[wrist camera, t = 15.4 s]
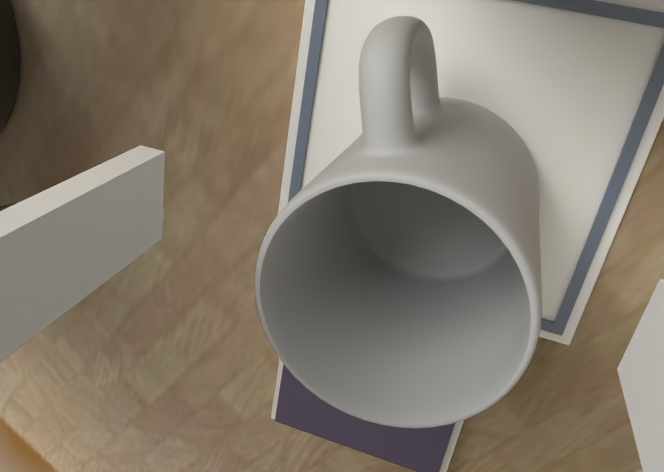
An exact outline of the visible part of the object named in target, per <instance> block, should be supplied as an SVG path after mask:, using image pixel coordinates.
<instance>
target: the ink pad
mask: <svg viewBox="0 0 664 472" xmlns="http://www.w3.org/2000/svg"><path fill="white" fill-rule="evenodd" d="M271 418H272V419H275V421H277V422H279V423H282V424H285V425H288V426H291V427H293V428H296V429H299V430H302V431H305V432H307V433H310V434H313V435H316V436H319V437H321V438H324V439H327V440H330V441H333V442H335V443H338V444H341V445H344V446H347V447H350V448H352V449H355V450H358V451H361V452H364V453H366V454H369V455H372V456H375V457H378V458H380V459H383V460H386V461H389V462H392V463H394V464H397V465H400V466H403V467H406V468H408V469H411V470H414V471H417V472H447V469H448V466H449V463H450V460H451V457H452V454H453V451H454V448H455V445H456V442H457V439H458V436H459V433H460V431H461V428H462V425H463V422H464V420H462V421H459V422H456V423H452V424H449V425H443V426H437V427H429V428H400V427H393V426H386V425H381V424H377V423H373V422H369V421H365V420H363V419H360V418H357V417H355V416H352V415H349V414H347V413H345V412H343V411H341V410H339V409H337V408H335V407H333V406H332V405H330V404H328V403H327V402H325V401H324V400H322V399H320V398H319V397H318V396H316V395H315V394H314V393H312V392H311V391H310V390H308V389H307V388H306V387H305V386H304V385H303V384H302V383H301V382H300V381H299V380H297V379H296V378H295V377H294V376H293V374H292V373H291V372H290V371H289V370H288V369H287V367H286V366H285V365H284V364H283V363H282V361H281V360H280V359H279V366H278V373H277V379H276V386H275V393H274V400H273V406H272V413H271Z"/></svg>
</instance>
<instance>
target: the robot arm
mask: <svg viewBox="0 0 664 472" xmlns="http://www.w3.org/2000/svg"><path fill="white" fill-rule="evenodd" d="M18 78H19V48H18V39H17V33H16V27H15V22H14V17H13V13H12V10H11V6H10V3H9V0H0V131H1V130H2V128H3V127H4V125H5V123H6V121H7V120H8V118H9V115H10V113H11V110H12V107H13V104H14V101H15V97H16V93H17V87H18ZM164 165H165V151H161V150H157V149H153V148H149V147H145V146H141V145H140V146H138V147H136V148H133V149H131V150H129V151H127V152H125V153H123V154H121V155H119V156H116V157H114V158H112V159H110V160H108V161H106V162H104V163H102V164H99V165H97V166H95V167H93V168H91V169H89V170H87V171H85V172H83V173H80V174H78V175H76V176H74V177H72V178H70V179H68V180H66V181H63V182H61V183H59V184H57V185H55V186H53V187H51V188H49V189H46V190H44V191H42V192H40V193H38V194H36V195H34V196H32V197H29V198H27V199H25V200H23V201H21V202H17V203H13V204H9V205H4V206H0V362H2V361H3V360H4V359H6V358H7V357H8V356H10V355H11V354H12V353H14V352H15V351H16V350H17V349H19V348H20V347H21V346H23V345H24V344H25V343H27V342H28V341H29V340H31V339H32V338H33V337H34V336H36V335H37V334H38V333H40V332H41V331H42V330H44V329H45V328H46V327H48V326H49V325H50V324H51V323H53V322H54V321H55V320H57V319H58V318H59V317H61V316H62V315H63V314H65V313H66V312H67V311H68V310H70V309H71V308H72V307H74V306H75V305H76V304H78V303H79V302H80V301H82V300H83V299H84V298H85V297H87V296H88V295H89V294H91V293H92V292H93V291H95V290H96V289H97V288H99V287H100V286H101V285H102V284H104V283H105V282H106V281H108V280H109V279H110V278H112V277H113V276H114V275H116V274H117V273H118V272H119V271H121V270H122V269H123V268H125V267H126V266H127V265H129V264H130V263H131V262H133V261H134V260H135V259H136V258H138V257H139V256H140V255H142V254H143V253H144V252H146V251H147V250H148V249H150V248H151V247H152V246H153V245H155V244H156V243H157V242H159V241H160V240H161V239H162V237H163V201H164ZM617 371H618V375H619V379H620V383H621V387H622V391H623V394H624V398H625V402H626V406H627V410H628V414H629V418H630V422H631V426H632V430H633V434H634V438H635V442H636V446H637V450H638V454H639V458H640V462H641V466H642V470H643V472H664V280H662V279H660V280H659V282H658V284H657V286H656V288H655V290H654V292H653V295H652V297H651V299H650V301H649V303H648V305H647V307H646V309H645V311H644V313H643V316H642V318H641V320H640V322H639V324H638V326H637V328H636V330H635V332H634V335H633V337H632V339H631V341H630V343H629V345H628V347H627V349H626V351H625V353H624V356H623V358H622V360H621V362H620V364H619V366H618V368H617Z"/></svg>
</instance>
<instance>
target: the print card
mask: <svg viewBox="0 0 664 472" xmlns="http://www.w3.org/2000/svg"><path fill="white" fill-rule="evenodd" d="M396 16H412V17H416V18H419V19H420V20H422V21H423V22H424V23H425V24H426V25H427V26H428V28H429V29H430V32H431V34H432V38H433V43H434V49H435V56H436V65H437V77H438V90H439V97H446V98H454V99H461V100H464V101H468V102H472V103H474V104H477V105H479V106H482V107H484V108H486V109H488V110H490V111H491V112H493V113H495V114H497V115H498V116H499V117H501V118H502V119H503V120H504V121H506V122H507V123H508V124H509V125H510V126H511V127H512V128H513V129H514V130H515V131H516V132H517V133H518V135H519V136H520V137H521V139H522V140H523V141H524V143H525V144H526V146H527V148H528V150H529V152H530V153H531V156H532V158H533V161H534V164H535V166H536V170H537V175H538V180H539V190H540V207H539V226H540V254H541V282H542V317H541V329H540V334H539V337H542V338H545V339H549V340H552V341H556V342H559V343H562V344H566V345H570V343H571V340H572V338H573V335H574V333H575V331H576V328H577V326H578V323H579V321H580V318H581V316H582V314H583V311H584V309H585V306H586V304H587V302H588V299H589V297H590V294H591V292H592V290H593V287H594V285H595V282H596V280H597V277H598V275H599V273H600V270H601V268H602V265H603V263H604V261H605V258H606V256H607V253H608V251H609V248H610V246H611V244H612V241H613V239H614V236H615V234H616V232H617V229H618V227H619V224H620V222H621V220H622V217H623V215H624V212H625V210H626V207H627V205H628V203H629V200H630V198H631V195H632V193H633V191H634V188H635V186H636V183H637V181H638V179H639V176H640V174H641V171H642V169H643V166H644V164H645V162H646V159H647V157H648V154H649V152H650V150H651V147H652V145H653V142H654V140H655V138H656V135H657V133H658V130H659V128H660V125H661V123H662V121H663V118H664V0H305V8H304V16H303V24H302V31H301V39H300V47H299V54H298V62H297V70H296V78H295V85H294V93H293V101H292V109H291V116H290V124H289V132H288V139H287V147H286V155H285V163H284V170H283V178H282V186H281V194H280V201H279V209H278V214H279V212H280V211H281V210H282V209H283V208H284V207H285V206H286V205H287V204H288V203H289V201H290V200H291V199H292V198H293V197H294V196H295V195H296V194H297V193H298V192H299V191H301V190H302V189H303V188H304V187H305V186H306V185H307V184H308V183H309V182H310V181H311V180H313V179H314V178H315V177H316V176H317V175H318V174H319V173H320V172H321V171H322V170H324V169H325V168H326V167H327V166H328V165H329V164H330V163H331V162H332V161H333V160H334V159H336V158H337V157H338V156H339V155H340V154H341V153H342V152H343V151H344V150H345V149H346V148H348V147H349V146H350V145H351V144H352V143H353V142H354V141H355V140H356V139H357V138H358V137H359V136H360V135H361V134H362V133H363V131H362V119H361V108H360V95H359V62H360V55H361V50H362V47H363V44H364V42H365V40H366V38H367V36H368V35H369V33H370V31H371V30H372V29H373V28H374V27H375V26H376V25H377V24H379V23H381V22H383V21H384V20H386V19H388V18H392V17H396Z"/></svg>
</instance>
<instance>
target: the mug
mask: <svg viewBox="0 0 664 472" xmlns="http://www.w3.org/2000/svg"><path fill="white" fill-rule="evenodd" d="M359 95H360V108H361V119H362V131H363V133H362V134H361V135H360V136H359V137H358V138H357V139H356V140H355V141H354V142H353V143H352V144H351V145H350V146H349V147H348V148H346V149H345V150H344V151H343V152H342V153H341V154H340V155H339V156H338V157H337V158H336V159H334V160H333V161H332V162H331V163H330V164H329V165H328V166H327V167H326V168H325V169H324V170H322V171H321V172H320V173H319V174H318V175H317V176H316V177H315V178H314V179H313V180H311V181H310V182H309V183H308V184H307V185H306V186H305V187H304V188H303V189H302V190H301V191H299V192H298V193H297V194H296V195H295V196H294V197H293V198H292V199H291V200H290V201H289V203H288V204H287V205H286V206H285V207H284V208H283V209H282V210H281V211H280V212H279V214H278V215H277V217H276V218H275V220H274V221H273V223H272V224H271V226H270V227H269V229H268V231H267V233H266V235H265V237H264V239H263V241H262V244H261V247H260V251H259V254H258V257H257V263H256V269H255V298H256V306H257V310H258V314H259V317H260V321H261V324H262V326H263V329H264V331H265V334H266V336H267V338H268V340H269V342H270V344H271V346H272V347H273V349H274V351H275V352H276V354H277V355H278V357H279V358H280V360H281V361H282V363H283V364H284V365H285V366H286V367H287V369H288V370H289V371H290V372H291V373H292V374H293V376H294V377H295V378H296V379H297V380H299V381H300V382H301V383H302V384H303V385H304V386H305V387H306V388H307V389H308V390H310V391H311V392H312V393H314V394H315V395H316V396H318V397H319V398H320V399H322V400H324V401H325V402H327V403H328V404H330V405H332V406H333V407H335V408H337V409H339V410H341V411H343V412H345V413H347V414H349V415H352V416H355V417H357V418H360V419H363V420H365V421H369V422H373V423H377V424H381V425H386V426H393V427H400V428H429V427H437V426H443V425H449V424H452V423H456V422H459V421H462V420H465V419H468V418H470V417H472V416H474V415H477V414H479V413H481V412H483V411H484V410H486V409H488V408H489V407H491V406H492V405H494V404H495V403H497V402H498V401H499V400H500V399H501V398H503V397H504V396H505V395H506V394H507V393H508V392H509V391H510V390H511V389H512V388H513V387H514V385H515V384H516V383H517V382H518V381H519V380H520V378H521V376H522V375H523V373H524V372H525V370H526V369H527V367H528V366H529V363H530V361H531V359H532V357H533V354H534V352H535V350H536V346H537V342H538V338H539V334H540V329H541V317H542V282H541V254H540V226H539V207H540V190H539V180H538V175H537V170H536V166H535V164H534V161H533V158H532V156H531V153H530V152H529V150H528V148H527V146H526V144H525V143H524V141H523V140H522V139H521V137H520V136H519V135H518V133H517V132H516V131H515V130H514V129H513V128H512V127H511V126H510V125H509V124H508V123H507V122H506V121H504V120H503V119H502V118H501V117H499V116H498V115H497V114H495V113H493V112H491V111H490V110H488V109H486V108H484V107H482V106H479V105H477V104H474V103H472V102H468V101H464V100H461V99H454V98H446V97H439V90H438V77H437V65H436V56H435V49H434V43H433V38H432V34H431V32H430V29H429V28H428V26H427V25H426V24H425V23H424V22H423V21H422V20H420V19H419V18H416V17H412V16H396V17H392V18H388V19H386V20H384V21H383V22H381V23H379V24H377V25H376V26H375V27H374V28H373V29H372V30H371V31H370V33H369V35H368V36H367V38H366V40H365V42H364V44H363V47H362V50H361V55H360V62H359Z"/></svg>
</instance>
